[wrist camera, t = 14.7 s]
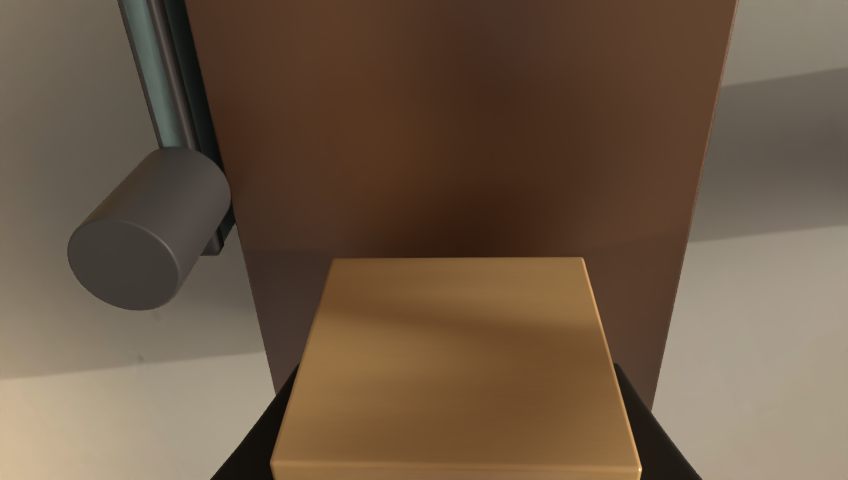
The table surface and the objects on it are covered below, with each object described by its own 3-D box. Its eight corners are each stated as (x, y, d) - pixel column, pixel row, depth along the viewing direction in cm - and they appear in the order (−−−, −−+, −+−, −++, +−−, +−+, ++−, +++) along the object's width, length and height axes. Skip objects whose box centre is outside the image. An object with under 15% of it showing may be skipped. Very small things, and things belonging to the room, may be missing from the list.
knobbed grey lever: (241, 144, 20) (100, 343, 12) (180, -143, 16) (-91, -117, 8) (303, 143, 20) (201, 344, 12) (259, -147, 16) (60, -123, 8)
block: (356, 427, 16) (315, 648, 11) (331, 256, 13) (267, 464, 9) (564, 429, 15) (603, 659, 11) (584, 255, 13) (643, 469, 8)
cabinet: (289, 316, 25) (235, 467, 19) (192, -175, 16) (37, -178, 10) (595, 316, 24) (638, 475, 18) (664, -199, 15) (787, -217, 10)
